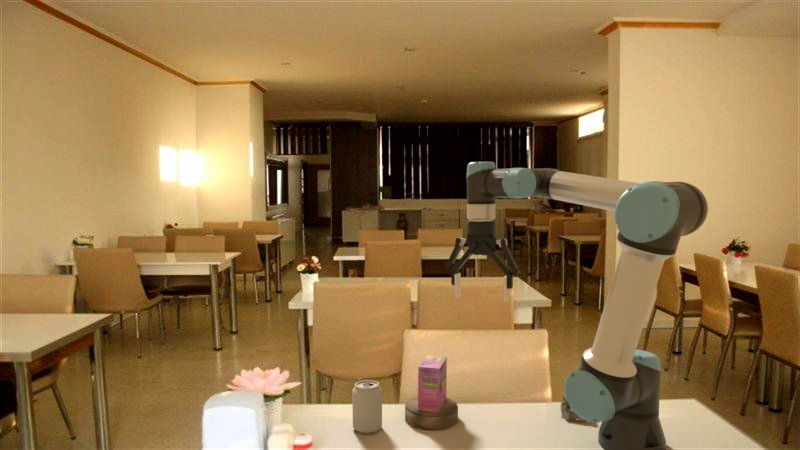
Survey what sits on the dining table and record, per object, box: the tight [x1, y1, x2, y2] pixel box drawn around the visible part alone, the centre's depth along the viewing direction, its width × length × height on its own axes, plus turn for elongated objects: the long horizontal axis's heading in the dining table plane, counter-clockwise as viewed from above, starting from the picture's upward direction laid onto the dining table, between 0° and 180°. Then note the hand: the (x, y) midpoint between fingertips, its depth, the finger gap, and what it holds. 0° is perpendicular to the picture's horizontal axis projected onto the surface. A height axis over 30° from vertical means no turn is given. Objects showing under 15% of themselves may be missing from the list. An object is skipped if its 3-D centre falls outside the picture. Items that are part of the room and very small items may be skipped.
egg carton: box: [560, 392, 584, 422], centre depth 164 cm, size 11×8×4 cm
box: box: [417, 354, 448, 413], centre depth 160 cm, size 10×6×12 cm, turn 165°
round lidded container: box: [404, 396, 459, 432], centre depth 160 cm, size 14×14×4 cm
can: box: [351, 379, 383, 435], centre depth 154 cm, size 8×8×12 cm
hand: (481, 299), depth 162 cm, fingers open, 13 cm apart
